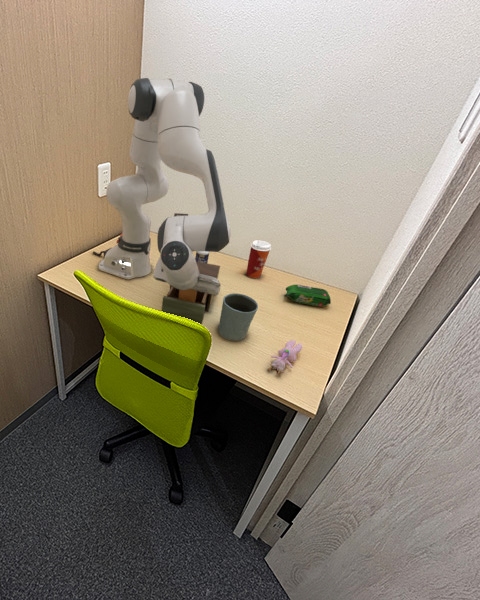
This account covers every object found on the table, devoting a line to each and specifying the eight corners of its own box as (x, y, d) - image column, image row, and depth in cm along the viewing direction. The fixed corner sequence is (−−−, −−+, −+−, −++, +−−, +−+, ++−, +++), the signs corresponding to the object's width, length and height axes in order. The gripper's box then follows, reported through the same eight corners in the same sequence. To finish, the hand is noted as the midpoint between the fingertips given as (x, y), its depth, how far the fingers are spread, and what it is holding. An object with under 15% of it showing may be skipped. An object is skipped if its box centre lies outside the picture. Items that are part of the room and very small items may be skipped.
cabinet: (208, 312, 118) (213, 286, 112) (167, 302, 123) (170, 277, 116) (215, 289, 130) (220, 265, 124) (178, 282, 134) (181, 258, 128)
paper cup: (256, 281, 135) (266, 249, 127) (239, 274, 140) (247, 243, 132) (266, 275, 139) (276, 244, 131) (249, 268, 144) (257, 237, 136)
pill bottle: (196, 268, 143) (199, 248, 137) (192, 262, 147) (195, 242, 142) (208, 268, 144) (212, 247, 138) (204, 262, 148) (207, 241, 142)
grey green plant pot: (214, 321, 113) (220, 292, 106) (245, 323, 112) (253, 294, 106) (219, 341, 105) (226, 310, 98) (252, 344, 104) (262, 313, 97)
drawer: (198, 337, 105) (202, 314, 100) (157, 326, 110) (159, 304, 105) (208, 305, 120) (212, 284, 115) (171, 297, 124) (174, 276, 119)
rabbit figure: (282, 382, 93) (307, 351, 100) (287, 369, 89) (312, 337, 96) (261, 370, 97) (286, 340, 104) (265, 357, 93) (290, 327, 100)
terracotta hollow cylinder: (176, 302, 111) (178, 284, 107) (180, 294, 115) (182, 276, 111) (193, 306, 109) (196, 288, 105) (196, 297, 113) (199, 279, 109)
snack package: (281, 292, 128) (285, 280, 125) (327, 299, 124) (332, 288, 121) (282, 302, 123) (286, 290, 120) (330, 310, 119) (336, 298, 116)
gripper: (222, 272, 93) (224, 285, 106) (154, 256, 101) (163, 270, 114) (216, 293, 92) (218, 304, 105) (147, 275, 100) (157, 288, 113)
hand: (189, 286), depth 110 cm, fingers closed on terracotta hollow cylinder, 5 cm apart
